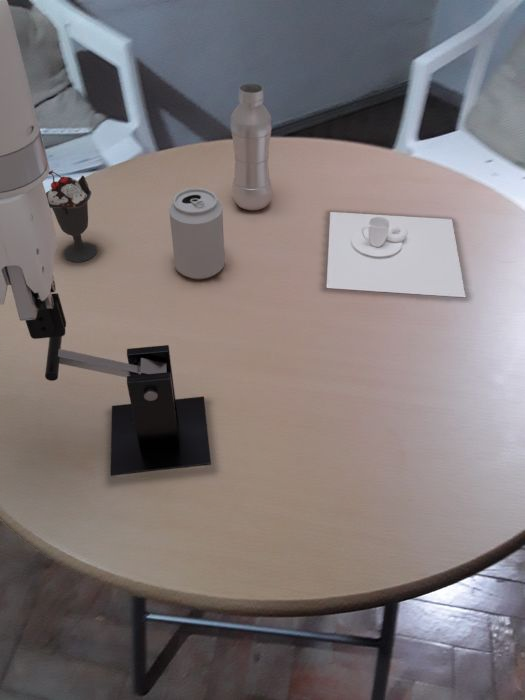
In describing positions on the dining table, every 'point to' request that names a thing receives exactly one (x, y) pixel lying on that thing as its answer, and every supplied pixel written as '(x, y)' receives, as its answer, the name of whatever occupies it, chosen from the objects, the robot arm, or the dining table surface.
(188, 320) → the dining table surface
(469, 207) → the dining table surface
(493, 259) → the dining table surface
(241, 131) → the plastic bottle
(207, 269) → the can
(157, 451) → the black lever stand
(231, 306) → the dining table surface
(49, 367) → the lever handle
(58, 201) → the sundae
